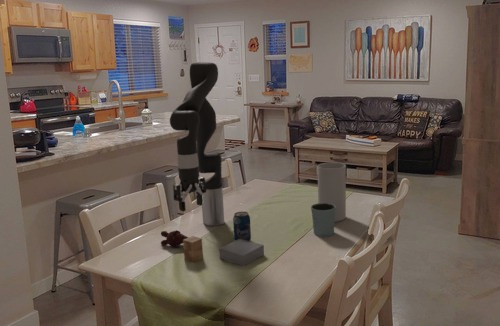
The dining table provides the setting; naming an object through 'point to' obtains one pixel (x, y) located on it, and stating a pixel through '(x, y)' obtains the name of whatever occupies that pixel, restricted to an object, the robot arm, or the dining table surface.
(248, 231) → the soda can
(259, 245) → the slate base
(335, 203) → the cylinder vase
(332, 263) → the dining table surface
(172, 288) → the dining table surface
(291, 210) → the dining table surface
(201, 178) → the robot arm
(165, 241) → the dark brown animal figure
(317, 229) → the blue gray cup
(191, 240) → the walnut block
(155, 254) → the dining table surface
